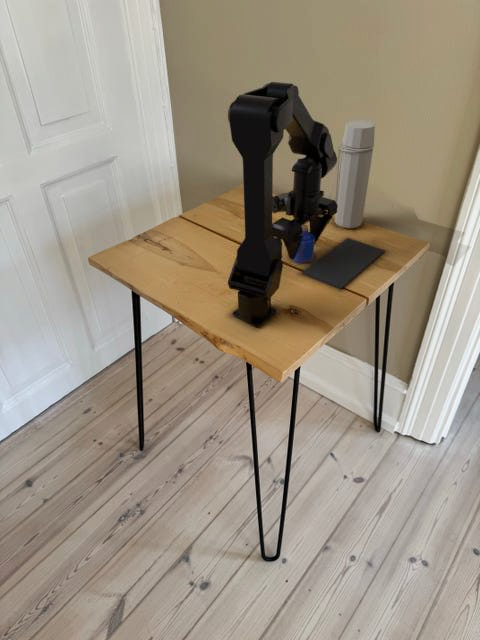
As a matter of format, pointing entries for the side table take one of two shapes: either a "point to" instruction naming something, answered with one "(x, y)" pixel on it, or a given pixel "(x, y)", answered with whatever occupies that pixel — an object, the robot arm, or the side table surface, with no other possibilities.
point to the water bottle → (354, 172)
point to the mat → (343, 263)
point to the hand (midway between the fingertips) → (302, 251)
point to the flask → (305, 247)
